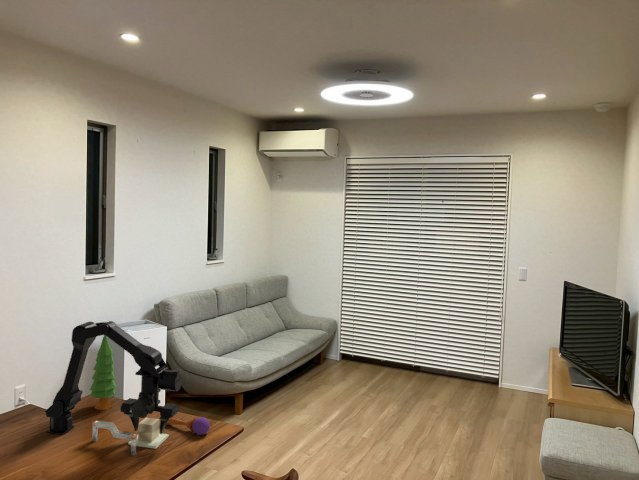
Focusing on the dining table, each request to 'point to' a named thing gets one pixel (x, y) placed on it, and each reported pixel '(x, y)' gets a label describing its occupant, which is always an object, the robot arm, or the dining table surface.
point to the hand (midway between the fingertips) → (148, 432)
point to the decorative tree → (103, 376)
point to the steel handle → (114, 433)
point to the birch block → (148, 430)
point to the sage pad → (154, 443)
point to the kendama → (192, 424)
